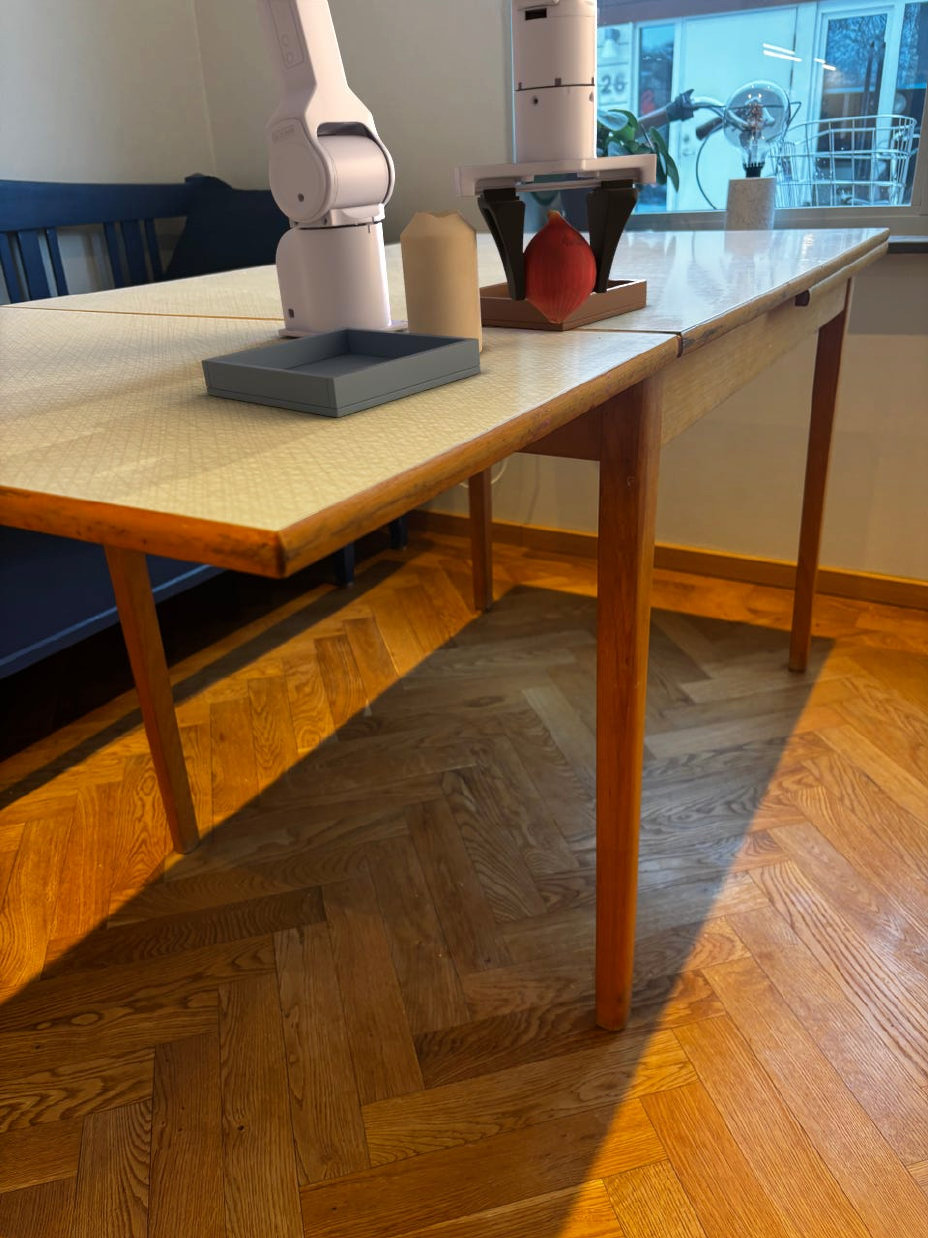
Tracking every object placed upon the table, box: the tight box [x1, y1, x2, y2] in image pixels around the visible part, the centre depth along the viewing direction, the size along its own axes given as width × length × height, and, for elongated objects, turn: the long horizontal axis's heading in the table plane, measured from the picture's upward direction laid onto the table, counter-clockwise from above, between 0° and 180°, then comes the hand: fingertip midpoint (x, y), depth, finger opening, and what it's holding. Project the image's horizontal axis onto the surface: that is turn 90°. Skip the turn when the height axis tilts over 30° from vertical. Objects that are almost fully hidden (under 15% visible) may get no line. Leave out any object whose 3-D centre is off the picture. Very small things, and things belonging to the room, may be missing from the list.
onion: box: [523, 209, 596, 323], centre depth 69 cm, size 6×6×8 cm
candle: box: [399, 208, 483, 353], centre depth 67 cm, size 6×6×10 cm
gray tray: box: [201, 327, 482, 418], centre depth 62 cm, size 13×13×2 cm
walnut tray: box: [479, 278, 648, 332], centre depth 83 cm, size 13×13×2 cm
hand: (557, 295), depth 70 cm, fingers closed on onion, 6 cm apart
